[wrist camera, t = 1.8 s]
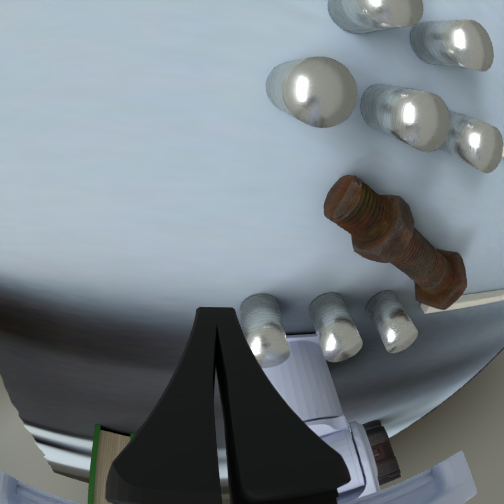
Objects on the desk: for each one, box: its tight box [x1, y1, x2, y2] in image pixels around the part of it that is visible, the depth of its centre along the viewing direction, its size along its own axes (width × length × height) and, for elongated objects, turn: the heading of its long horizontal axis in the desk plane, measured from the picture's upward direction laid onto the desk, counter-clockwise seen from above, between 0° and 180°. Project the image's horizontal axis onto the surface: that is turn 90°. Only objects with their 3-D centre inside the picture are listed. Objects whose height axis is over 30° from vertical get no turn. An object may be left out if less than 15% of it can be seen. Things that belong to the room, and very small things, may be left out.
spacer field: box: [240, 0, 503, 368], centre depth 16 cm, size 26×15×5 cm, turn 174°
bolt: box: [324, 175, 467, 310], centre depth 19 cm, size 6×5×15 cm
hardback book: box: [88, 424, 135, 504], centre depth 33 cm, size 18×7×24 cm, turn 156°
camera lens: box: [351, 421, 401, 486], centre depth 44 cm, size 8×8×15 cm
